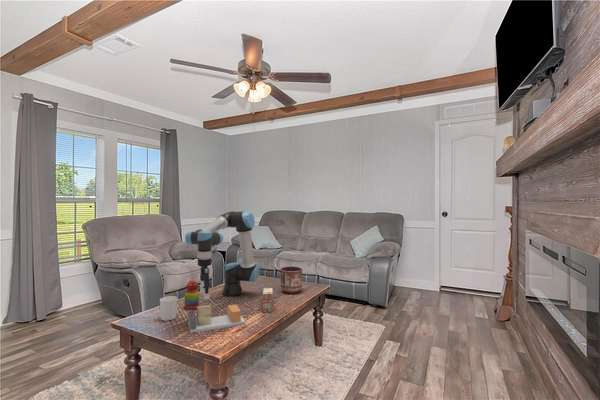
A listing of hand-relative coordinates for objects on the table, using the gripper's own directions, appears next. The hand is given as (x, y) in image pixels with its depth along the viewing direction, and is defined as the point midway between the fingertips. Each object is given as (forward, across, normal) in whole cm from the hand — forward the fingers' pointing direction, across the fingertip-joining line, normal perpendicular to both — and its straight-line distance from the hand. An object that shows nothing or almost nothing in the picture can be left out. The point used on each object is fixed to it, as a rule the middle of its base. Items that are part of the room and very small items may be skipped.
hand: (204, 295), depth 172 cm
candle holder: (+17, -20, -18) cm, 32 cm away
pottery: (+19, -38, +71) cm, 83 cm away
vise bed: (+17, 0, +7) cm, 18 cm away
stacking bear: (+18, -34, -3) cm, 38 cm away
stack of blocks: (+18, -14, +43) cm, 49 cm away
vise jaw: (+16, 0, +17) cm, 23 cm away
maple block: (+16, 0, 0) cm, 16 cm away
